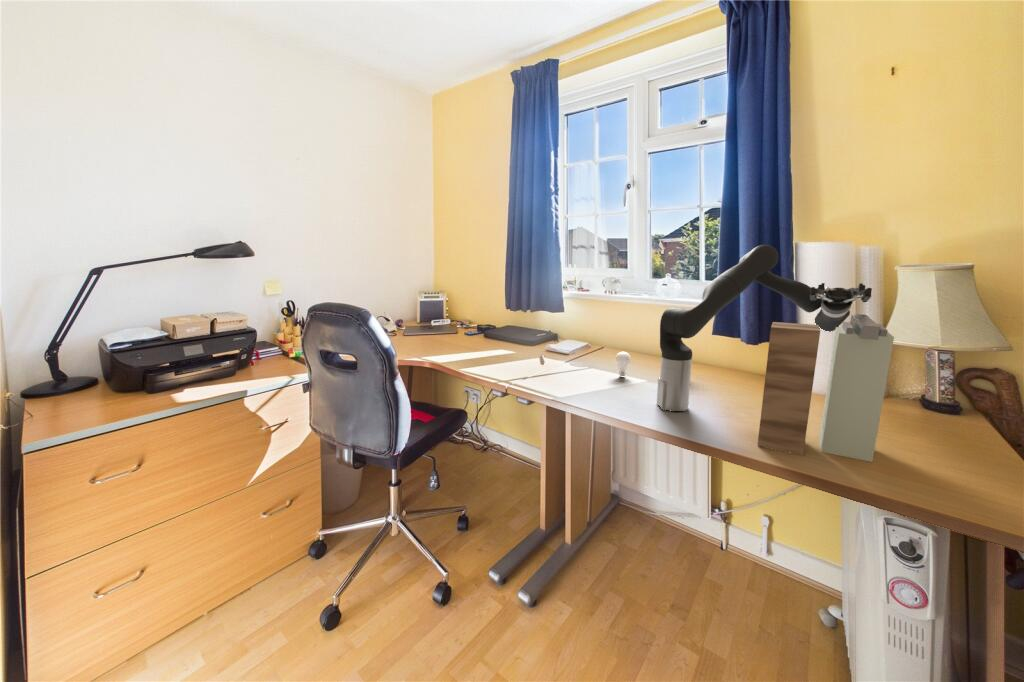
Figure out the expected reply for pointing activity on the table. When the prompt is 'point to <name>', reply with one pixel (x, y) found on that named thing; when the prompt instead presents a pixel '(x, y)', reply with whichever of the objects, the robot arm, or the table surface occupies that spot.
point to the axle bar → (865, 326)
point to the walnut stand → (788, 386)
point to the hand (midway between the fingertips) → (841, 286)
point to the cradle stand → (855, 393)
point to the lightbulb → (622, 362)
